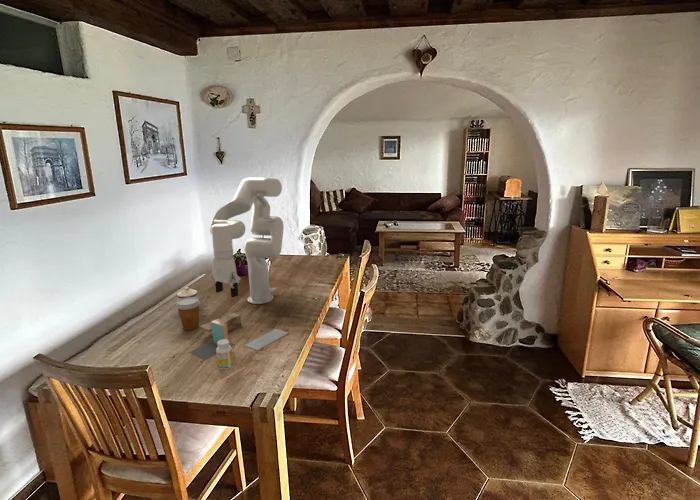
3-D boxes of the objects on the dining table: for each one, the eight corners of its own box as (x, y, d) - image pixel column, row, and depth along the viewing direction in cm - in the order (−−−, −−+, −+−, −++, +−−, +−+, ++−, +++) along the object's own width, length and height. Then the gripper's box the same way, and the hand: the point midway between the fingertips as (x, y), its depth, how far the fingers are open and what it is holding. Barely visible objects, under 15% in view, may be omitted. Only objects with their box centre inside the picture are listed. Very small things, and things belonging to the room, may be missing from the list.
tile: (217, 340, 163) (215, 319, 161) (228, 345, 159) (226, 324, 157) (213, 342, 162) (210, 321, 159) (224, 347, 158) (222, 326, 155)
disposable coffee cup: (207, 323, 179) (204, 298, 176) (192, 333, 170) (189, 306, 167) (189, 320, 182) (186, 295, 179) (174, 330, 174) (170, 303, 170)
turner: (233, 322, 180) (232, 312, 179) (242, 326, 177) (241, 315, 175) (201, 337, 167) (199, 326, 166) (210, 341, 164) (208, 329, 162)
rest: (276, 329, 173) (276, 328, 173) (288, 334, 169) (288, 332, 169) (244, 346, 159) (244, 344, 159) (257, 351, 155) (257, 350, 155)
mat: (219, 338, 166) (219, 337, 166) (235, 345, 160) (235, 344, 160) (188, 353, 155) (188, 352, 155) (205, 361, 149) (204, 360, 149)
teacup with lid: (192, 315, 187) (189, 291, 184) (174, 314, 189) (171, 290, 186) (206, 305, 199) (204, 282, 196) (189, 304, 200) (186, 281, 197)
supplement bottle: (223, 372, 142) (220, 347, 139) (214, 366, 145) (211, 342, 143) (236, 365, 146) (234, 341, 143) (227, 360, 149) (225, 336, 147)
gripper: (202, 253, 168) (206, 292, 173) (230, 259, 158) (233, 301, 163) (217, 249, 174) (221, 287, 178) (245, 255, 164) (248, 295, 169)
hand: (227, 294), depth 171 cm, fingers open, 9 cm apart
